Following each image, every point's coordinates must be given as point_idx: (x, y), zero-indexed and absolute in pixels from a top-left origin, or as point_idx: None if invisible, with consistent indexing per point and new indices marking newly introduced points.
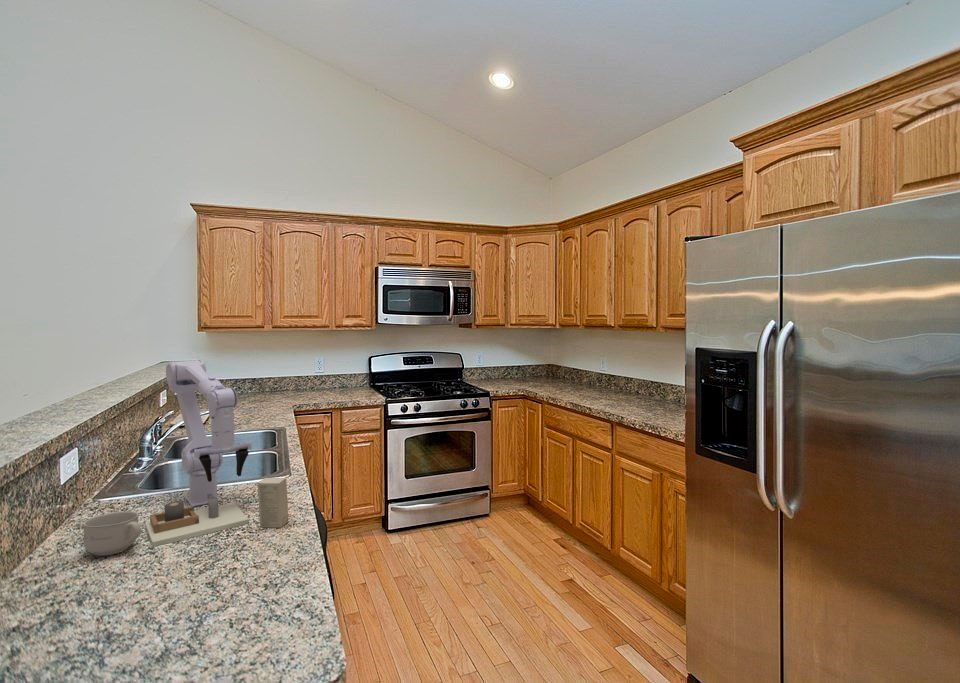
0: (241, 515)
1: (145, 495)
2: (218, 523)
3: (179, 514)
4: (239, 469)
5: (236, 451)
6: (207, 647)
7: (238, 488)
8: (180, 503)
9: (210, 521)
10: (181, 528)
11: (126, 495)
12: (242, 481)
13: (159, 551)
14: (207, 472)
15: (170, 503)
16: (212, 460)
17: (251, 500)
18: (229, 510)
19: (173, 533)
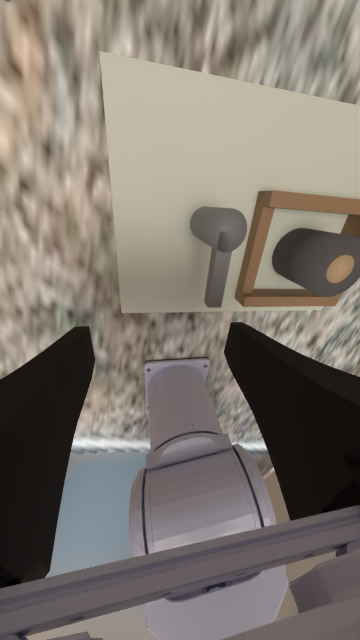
0: (121, 150)
1: (240, 442)
2: (217, 123)
3: (316, 233)
4: (68, 346)
5: (35, 564)
6: None
7: (92, 416)
8: (324, 264)
9: (228, 179)
10: (308, 185)
11: (257, 449)
12: (78, 447)
13: None
14: (285, 346)
15: (336, 288)
16: (173, 496)
17: (68, 327)
18: (148, 249)
19: (344, 151)
